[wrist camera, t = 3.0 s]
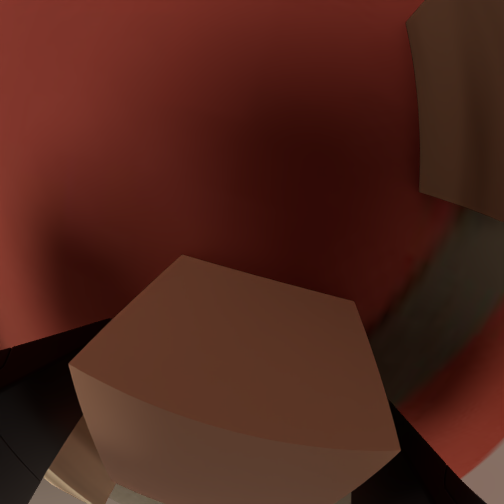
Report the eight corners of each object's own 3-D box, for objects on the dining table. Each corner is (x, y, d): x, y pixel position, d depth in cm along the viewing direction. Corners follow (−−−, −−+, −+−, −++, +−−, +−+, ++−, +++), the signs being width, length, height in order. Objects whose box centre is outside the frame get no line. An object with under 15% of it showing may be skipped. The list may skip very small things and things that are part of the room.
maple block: (86, 392, 11) (36, 456, 6) (133, 449, 12) (101, 510, 8) (41, 384, 12) (-2, 431, 8) (82, 437, 14) (51, 483, 9)
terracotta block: (353, 300, 8) (400, 450, 3) (298, 410, 9) (290, 529, 5) (183, 253, 8) (68, 363, 3) (169, 375, 10) (111, 481, 5)
